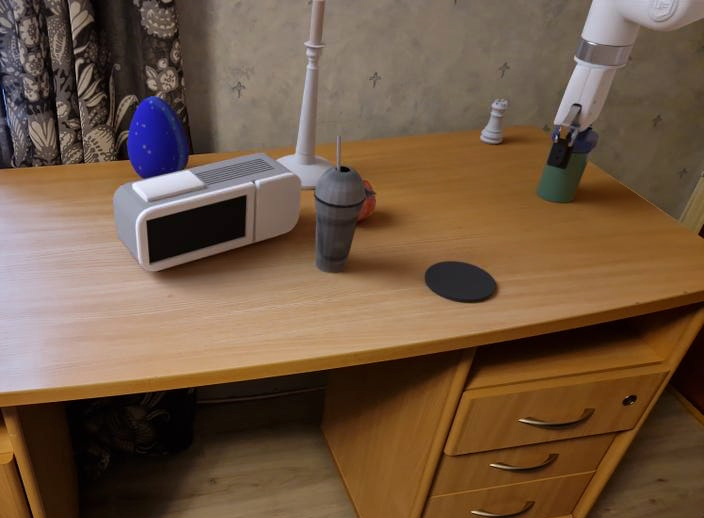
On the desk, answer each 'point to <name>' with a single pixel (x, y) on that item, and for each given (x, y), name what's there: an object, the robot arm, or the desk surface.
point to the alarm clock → (206, 210)
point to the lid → (582, 139)
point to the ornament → (156, 140)
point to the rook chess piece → (495, 123)
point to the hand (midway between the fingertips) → (565, 157)
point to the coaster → (460, 281)
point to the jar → (563, 178)
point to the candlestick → (310, 111)
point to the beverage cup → (337, 214)
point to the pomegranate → (367, 202)
